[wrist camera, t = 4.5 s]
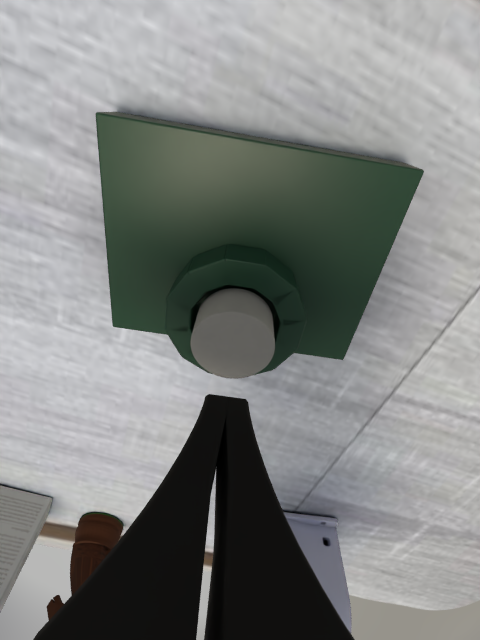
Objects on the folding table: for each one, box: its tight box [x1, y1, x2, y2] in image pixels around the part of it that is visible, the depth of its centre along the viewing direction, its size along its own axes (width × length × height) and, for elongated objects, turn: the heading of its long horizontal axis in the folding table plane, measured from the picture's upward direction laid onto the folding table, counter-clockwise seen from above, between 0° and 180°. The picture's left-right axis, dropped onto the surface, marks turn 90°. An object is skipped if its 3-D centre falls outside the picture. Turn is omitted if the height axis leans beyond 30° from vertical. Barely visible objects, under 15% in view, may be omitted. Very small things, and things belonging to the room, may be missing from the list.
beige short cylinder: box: [191, 288, 275, 378], centre depth 15 cm, size 4×4×2 cm
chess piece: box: [47, 513, 123, 620], centre depth 30 cm, size 5×5×10 cm
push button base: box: [96, 112, 424, 376], centre depth 16 cm, size 13×11×4 cm
